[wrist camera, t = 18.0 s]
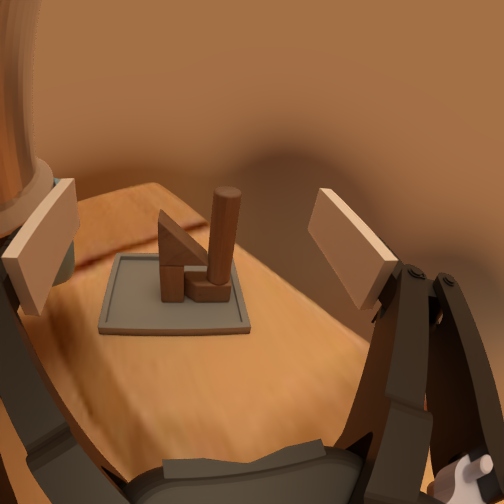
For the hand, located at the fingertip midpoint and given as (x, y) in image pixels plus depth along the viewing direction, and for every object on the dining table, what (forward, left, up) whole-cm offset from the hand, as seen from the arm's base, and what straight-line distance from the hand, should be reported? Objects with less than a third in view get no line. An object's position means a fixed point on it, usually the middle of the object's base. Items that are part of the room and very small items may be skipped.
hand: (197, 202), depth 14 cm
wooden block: (-5, +20, -26) cm, 33 cm away
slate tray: (-9, +20, -26) cm, 34 cm away
